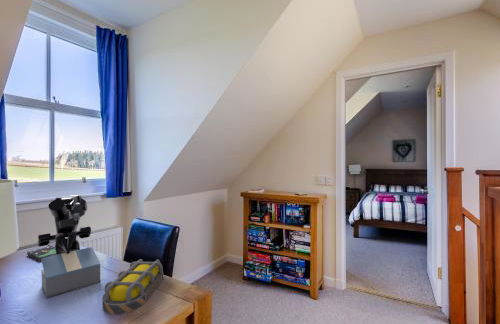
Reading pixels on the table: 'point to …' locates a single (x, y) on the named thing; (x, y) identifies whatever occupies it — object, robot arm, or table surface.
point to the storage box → (70, 281)
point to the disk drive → (42, 253)
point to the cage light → (132, 287)
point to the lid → (69, 262)
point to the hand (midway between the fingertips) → (68, 253)
